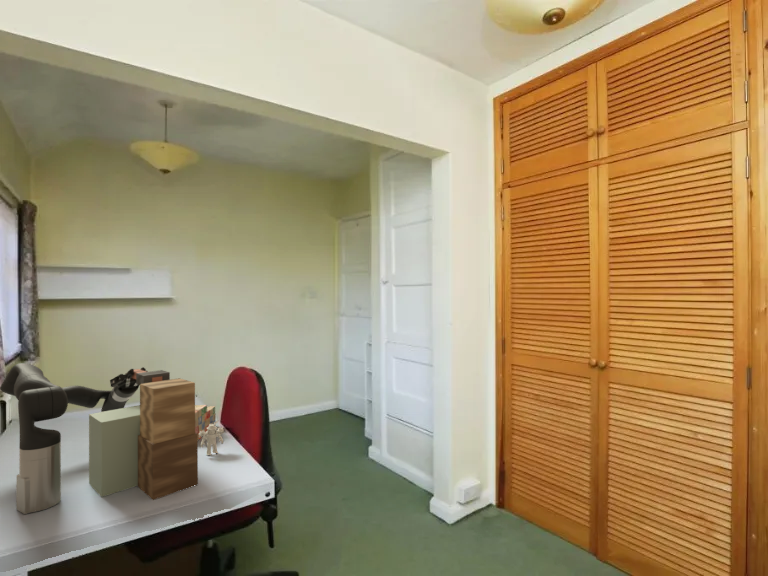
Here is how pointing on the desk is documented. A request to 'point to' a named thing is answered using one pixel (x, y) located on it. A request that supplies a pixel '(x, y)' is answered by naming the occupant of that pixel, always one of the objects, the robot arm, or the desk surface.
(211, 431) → the cream toy figurine
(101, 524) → the desk surface
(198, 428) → the stack of blocks
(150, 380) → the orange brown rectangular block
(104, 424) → the upright pale green block
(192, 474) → the tower
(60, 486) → the robot arm
